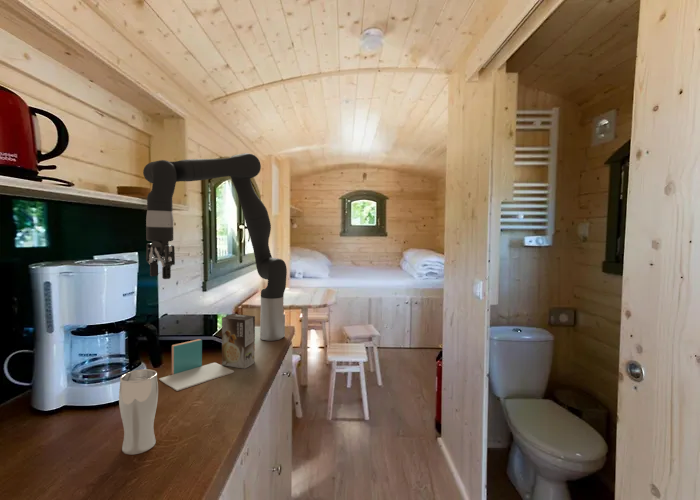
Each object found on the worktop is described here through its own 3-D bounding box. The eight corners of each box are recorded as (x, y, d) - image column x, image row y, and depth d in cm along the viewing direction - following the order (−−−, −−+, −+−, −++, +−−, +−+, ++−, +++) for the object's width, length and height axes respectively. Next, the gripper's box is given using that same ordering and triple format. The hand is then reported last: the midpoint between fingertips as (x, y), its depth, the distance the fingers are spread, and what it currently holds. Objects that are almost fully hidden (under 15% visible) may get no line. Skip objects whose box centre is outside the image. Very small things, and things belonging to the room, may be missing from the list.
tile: (199, 365, 119) (199, 338, 119) (201, 367, 118) (202, 339, 118) (171, 373, 112) (171, 345, 112) (174, 375, 111) (174, 346, 111)
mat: (215, 363, 122) (215, 362, 122) (234, 372, 115) (234, 371, 115) (159, 379, 108) (159, 378, 108) (177, 391, 101) (177, 389, 101)
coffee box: (255, 362, 124) (256, 315, 123) (244, 369, 117) (245, 320, 116) (232, 359, 126) (232, 313, 125) (220, 365, 120) (221, 317, 119)
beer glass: (149, 432, 81) (149, 366, 80) (164, 445, 76) (163, 375, 75) (114, 446, 75) (113, 375, 74) (127, 460, 71) (126, 385, 70)
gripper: (183, 226, 112) (183, 278, 113) (161, 225, 121) (161, 274, 122) (157, 226, 106) (158, 281, 107) (137, 225, 115) (137, 276, 116)
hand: (160, 277), depth 115 cm, fingers open, 8 cm apart
